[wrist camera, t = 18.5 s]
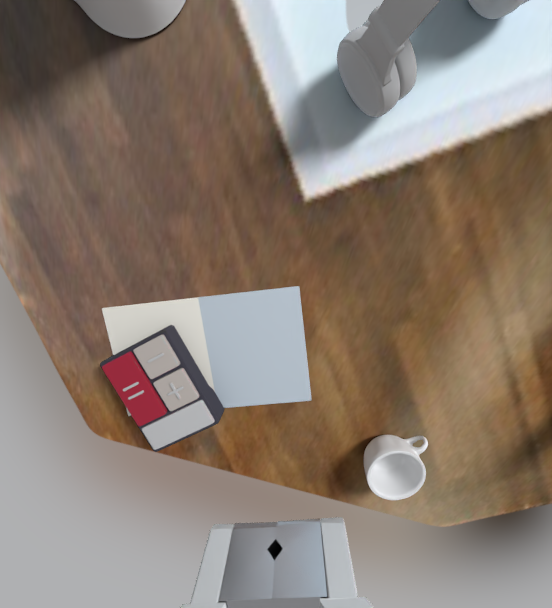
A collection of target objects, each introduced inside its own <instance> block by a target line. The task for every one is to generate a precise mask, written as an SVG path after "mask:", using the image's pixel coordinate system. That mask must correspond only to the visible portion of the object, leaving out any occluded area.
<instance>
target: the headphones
mask: <svg viewBox="0 0 552 608" xmlns="http://www.w3.org/2000/svg"><path fill="white" fill-rule="evenodd" d="M439 1H440V0H384V1H383V3H382V4H381V6H378V7H377V8H375V9H374V10H373V11H372V13H371V14H370V16H369V18H368V20H367V21H366V22H365V23H364V24H363V25H362V26H360V27H358V28H356V29H354V30H352V31H351V32H349V33H348V34H347V35H346V36H345V37H344V39H343V40H342V41H341V42H340V44H339V48H338V53H337V63H338V68H339V72H340V75H341V78H342V81H343V83H344V85H345V88H346V90H347V91H348V93H349V95H350V97H351V98H352V100H353V101H354V103H355V104H356V105H357V106H358V108H359V109H360V110H361V111H362V112H363V113H365V114H366V115H368V116H371V117H380V116H382V115H384V114H385V113H387V112H388V111H389V110H390V109H392V108H393V107H394V106H395V104H396V103H397V101H398V100H400V99H402V98H403V97H404V96H405V95H406V94H408V93H409V92H410V90H411V89H412V88H413V86H414V84H415V81H416V76H417V64H416V58H415V54H414V50H413V47H412V44H411V42H410V39H409V36H410V35H411V34H412V33H413V31H414V30H415V29H416V28H417V27H418V25H419V24H420V23H421V22H422V21H423V20H424V18H425V17H426V16H427V15H428V14H429V13H430V11H431V10H432V9H433V8H434V7H435V6H436V5H437V4H438V3H439ZM468 1H469V3H470V5H471V6H472V8H473V9H474V10H475V11H476V12H477V13H478V14H479V15H481V16H482V17H485V18H488V19H498V18H501V17H504V16H505V15H507V14H509V13H511V12H512V11H514V10H515V9H516V8H517V7H519V6H520V5H522V4H524V3H525V2H527V1H529V0H468Z"/></svg>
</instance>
